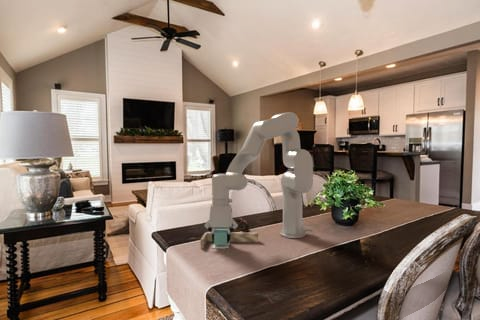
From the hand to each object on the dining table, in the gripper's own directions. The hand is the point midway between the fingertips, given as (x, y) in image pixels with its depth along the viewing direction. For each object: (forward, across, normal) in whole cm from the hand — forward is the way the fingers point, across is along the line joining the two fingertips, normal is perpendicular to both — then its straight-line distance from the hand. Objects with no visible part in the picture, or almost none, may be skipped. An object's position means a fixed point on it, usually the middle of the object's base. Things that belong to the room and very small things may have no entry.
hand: (221, 241), depth 123 cm
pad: (+2, 0, 0) cm, 2 cm away
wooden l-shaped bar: (+2, -4, -1) cm, 4 cm away
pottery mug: (+2, -7, -20) cm, 21 cm away
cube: (+1, 0, 0) cm, 1 cm away
